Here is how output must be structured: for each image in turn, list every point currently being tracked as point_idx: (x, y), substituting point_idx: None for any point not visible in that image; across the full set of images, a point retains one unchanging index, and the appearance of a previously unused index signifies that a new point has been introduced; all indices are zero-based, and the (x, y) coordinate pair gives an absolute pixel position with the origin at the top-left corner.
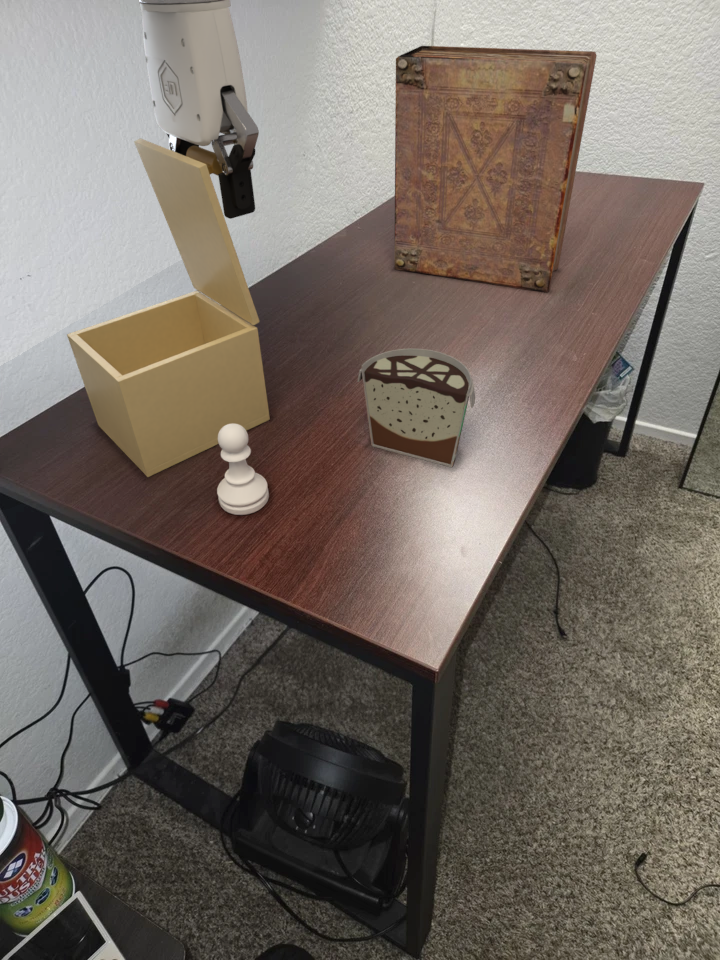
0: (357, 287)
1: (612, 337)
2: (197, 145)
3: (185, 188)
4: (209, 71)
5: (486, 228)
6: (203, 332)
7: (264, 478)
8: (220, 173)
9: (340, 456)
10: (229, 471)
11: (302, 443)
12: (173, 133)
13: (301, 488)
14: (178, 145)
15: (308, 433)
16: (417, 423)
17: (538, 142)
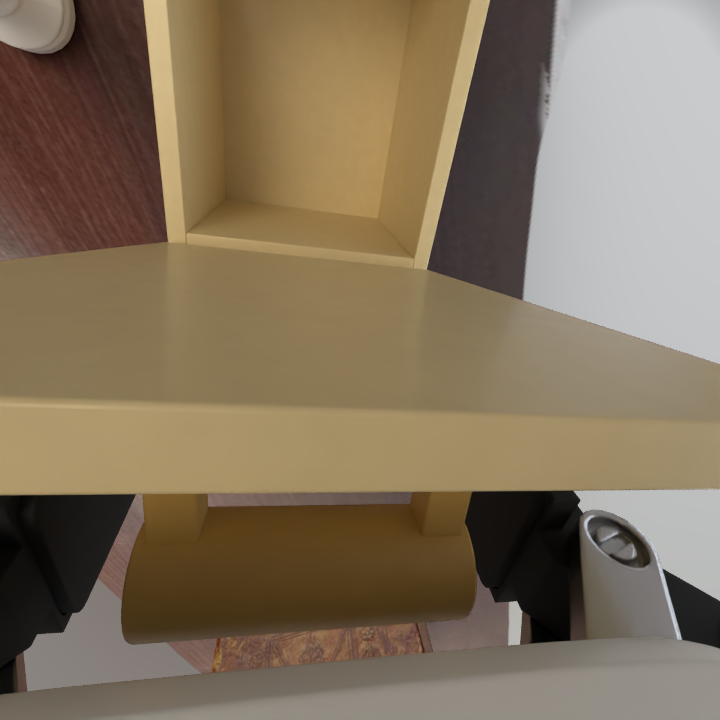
0: (403, 493)
1: (101, 579)
2: (524, 616)
3: (191, 313)
4: None
5: (294, 642)
6: (389, 236)
7: (11, 44)
8: (9, 520)
9: (56, 213)
10: None
11: (124, 197)
12: (472, 692)
13: (4, 103)
14: (572, 572)
15: (144, 223)
16: None
17: None
